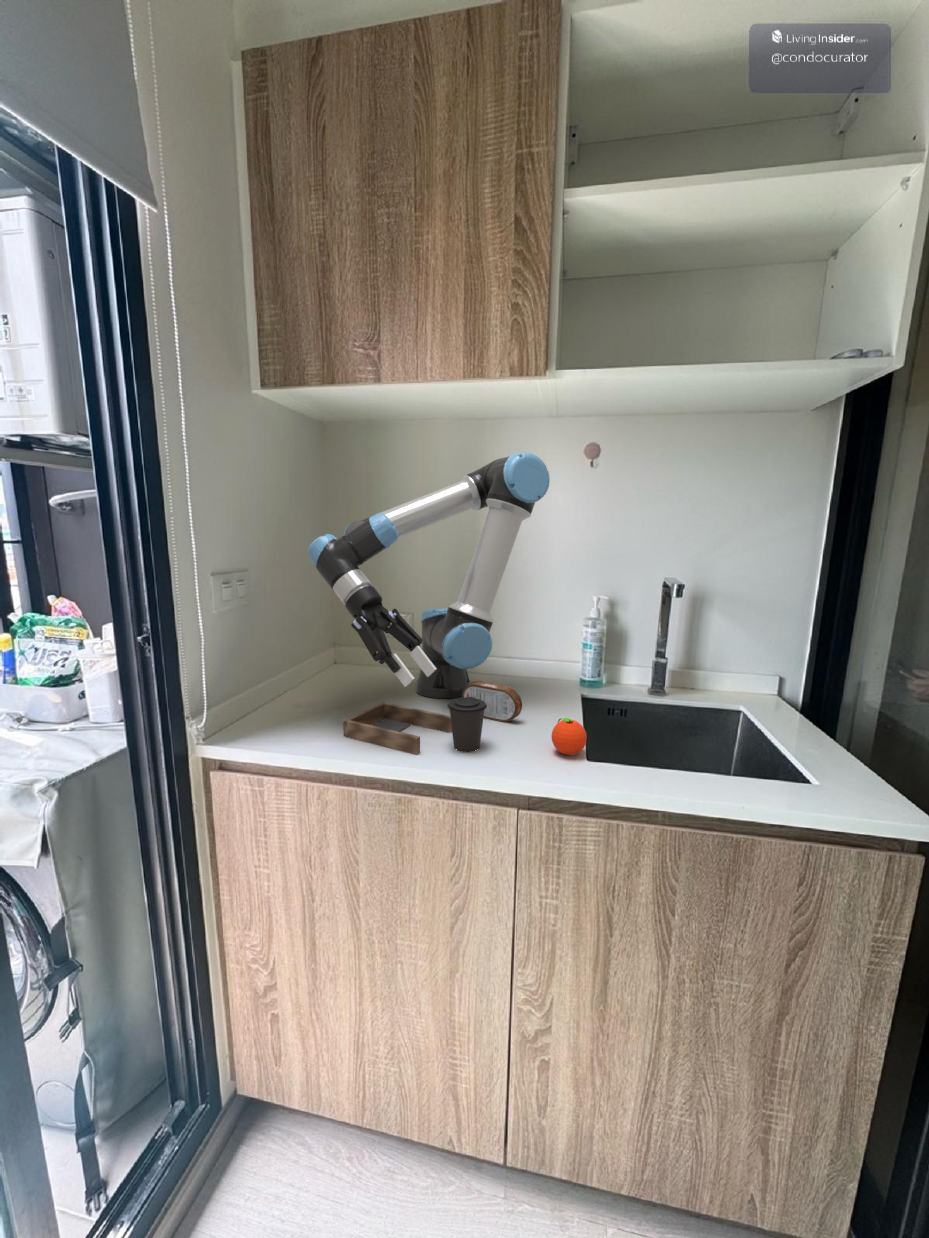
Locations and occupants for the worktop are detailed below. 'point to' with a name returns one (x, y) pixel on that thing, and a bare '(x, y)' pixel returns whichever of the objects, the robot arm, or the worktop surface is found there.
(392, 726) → the pad
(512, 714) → the tin
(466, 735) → the coffee cup
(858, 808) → the worktop surface
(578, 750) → the clementine
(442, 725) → the channel
